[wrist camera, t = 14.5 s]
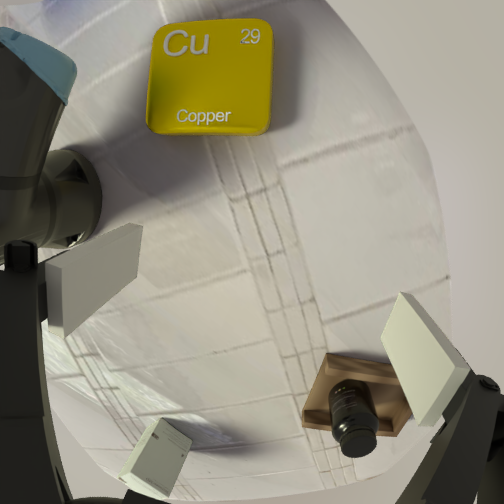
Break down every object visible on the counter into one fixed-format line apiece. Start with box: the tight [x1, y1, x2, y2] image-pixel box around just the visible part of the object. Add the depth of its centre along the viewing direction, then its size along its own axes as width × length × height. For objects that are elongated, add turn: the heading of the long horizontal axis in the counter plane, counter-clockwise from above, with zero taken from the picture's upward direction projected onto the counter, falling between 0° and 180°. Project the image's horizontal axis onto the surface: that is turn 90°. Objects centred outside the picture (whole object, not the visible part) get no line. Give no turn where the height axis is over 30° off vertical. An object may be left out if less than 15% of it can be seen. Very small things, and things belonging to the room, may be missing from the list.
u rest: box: [302, 353, 413, 437], centre depth 45 cm, size 17×12×4 cm
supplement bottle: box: [328, 379, 379, 458], centre depth 40 cm, size 7×7×12 cm
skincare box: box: [117, 418, 192, 500], centre depth 47 cm, size 8×6×15 cm
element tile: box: [146, 18, 274, 136], centre depth 35 cm, size 15×15×5 cm
